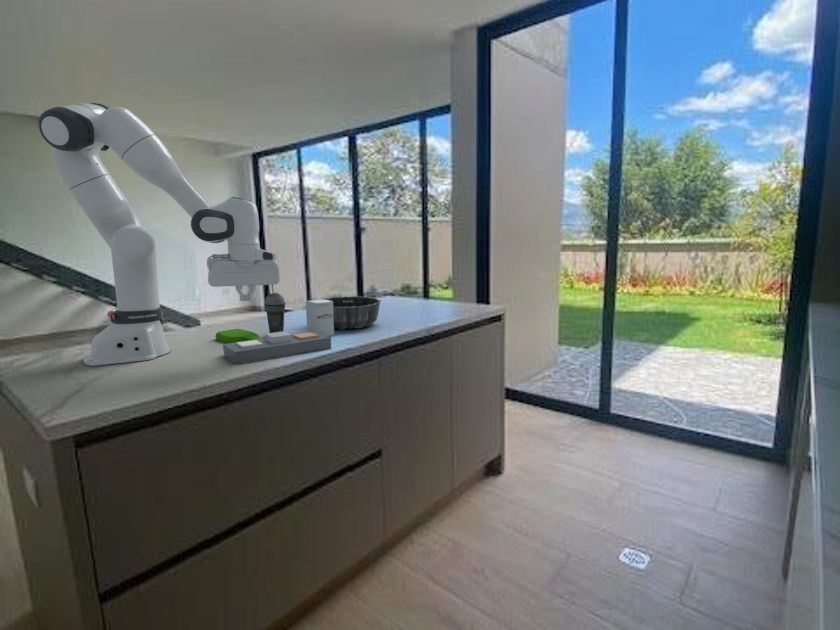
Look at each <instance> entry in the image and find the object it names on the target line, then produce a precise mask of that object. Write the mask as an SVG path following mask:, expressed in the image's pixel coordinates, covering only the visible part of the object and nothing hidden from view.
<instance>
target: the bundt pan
mask: <svg viewBox="0 0 840 630" xmlns="http://www.w3.org/2000/svg"><path fill="white" fill-rule="evenodd" d="M323 299H324V300H329V301H333V317H334V330H336V329H337V330H345V329H349V330H352V329H361V328H368V327H369V326H371V325H373V324H375V322H376V321H377V319H378V316H379V310H380V304H381V302H382V300H381V299H378V298H376V297H369V296H338V297H337V296H335V297H334V296H333V297H328V298H321V300H323Z"/></svg>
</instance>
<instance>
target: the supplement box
mask: <svg viewBox="0 0 840 630" xmlns="http://www.w3.org/2000/svg"><path fill="white" fill-rule="evenodd" d="M322 299H323V300H322ZM322 299H314V300H306V301H305V311H306V312H305V314H306V333H307V332H314V331H315V332H317V333H320V334H323V335H325V336H328V337H330V336H335V329H334V317H333V301H329V300H324V299H325V298H322Z"/></svg>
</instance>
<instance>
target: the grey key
mask: <svg viewBox="0 0 840 630" xmlns="http://www.w3.org/2000/svg"><path fill="white" fill-rule="evenodd" d="M291 335H292V334H290V333H289V332H286V331H283V332H276V333H270V332H269V333H265V336H264V337H265V338H266V341H267V342H269V343H271V344H277V343H284V342H291V341H292V339H291Z"/></svg>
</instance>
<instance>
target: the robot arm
mask: <svg viewBox="0 0 840 630" xmlns="http://www.w3.org/2000/svg"><path fill="white" fill-rule="evenodd" d="M37 125H38V130H39V133H40V135H41V136H42V138H43V140H44V141H45V142H46V143H47V144H48V145H49V146H50V147H53V149H52V152H51V156H50V157H51V160H52V162H53V165H54V167H55V169H56V171H57V173H58V175H59V176H60V178H61V180H62V181H63V183H64V184H65V187H67V189H68V190H69V192H70V193H71V195H72V197H74V199H75V201H76V202H77V204H78V205H79V206H80V207H81V209H82V210H83V212H84V213H85V215H86V216H87V218H89V220H90V222H91V223H92V224H93V227H95V229H96V230H97V232H98V233H99V235H100V236H101V237H102V239H103V240H104V241H105V243H106V244H107V246H108V247H109V249H110V252H111V259H112V260H111V261H112V269H113V271H112V272H113V280H114V289H115V290H114V291H115V297H116V305H117V309H116V310H115V311H114V310H108V312H107V317H109V318H110V322H111V324H109V325H107V327H105V328H104V329H103V330H101V331H100V332H99V333H98V334H97V335H95V336H94V338H93V339H92V342H91V346H90V347H91V348H90V352H89V353H87V354H85V355H83V357H82V363H83V364H84V365H87V366H92V367H93V366H96V367H97V366H104V365H112V364H123V363H133V362H141V361H142V362H143V361H150V360H153V359H155V358H158V357H159V356H163V355H166V354H168V353H170V352H171V349H170V347H169V345H168V341H167V339H166V335H165V332H164V327H163V325H164V315H163V314H164V313H163V309H162V306H161V305H160V296H159V285H158V266H157V265H158V263H157V248H156V242H155V241H156V240H155V239H154V237H153V235H152V233H151V232H150V231H148V230H147V229H146V228H145V227H144V226H143V224H142V222H141V221H140V220H139V218H138V215H137V214H136V213H135V211H134V210H133V207H132V206H131V205H130V203H129V201H128V199H127V198H126V196H125V195H124V193H123V192H122V190H121V189H120V188H119V187H120V186H118V184H117V182H116V181H115V180H114V178H113V177H112V175H111V174H110V172H109V171H108V170H107V168H106V166H105V165H104V164H103V161H102V159H101V157H100V153H101V152H102V151H103V152H104V151H105V152H106V151H108V150H109V149H111V150H112V151H113V152H114V153H115V154H116V155H117V156H118V157H119V158H120V159H121V160H122V162H123V163H124V164H125V165H126V166H128V168H130V170H131V171H133V172H134V173H135V174H136V175H138V176H139V177H140V178H142V179H143V180H144V181H146V182H148V183H150V184H152V185H154V186H155V187H157V188H159V189H161V190H162V191H164V192H166V194H168V195H169V196H170V197H172V199H173V200H174V201H175V202H176V203H177V204H178V205H179V206H180V207H181V208H182V209H183V210H184V211H185V212H186V214H188V216H189V217H190V218H191V220H190V227H191V230H192V233H193V234H194V235H195V236H196V237H197V238H198V239H200V240H201V241H203V242H206V243H211V244H220V243H223V242H225V241H227V253H221V254H218V253H214V254H212V255H210V256H208V258H207V259H206V267H207V268H208V269H207V270H208V273H207V275H208V276H207V283H208V285H209V286H211V287H212V288H215V287H216V288H217V287H218V288H220V287H223V288H224V287H235V291H236V293H238V295H239V301H240V302H246V301H247V302H248V301H252V295H253V293H254V292H255V290H256V286H269V285H271V286H272V285H273V286H274V285H278V284H279V283H280V281H281V279H280V278H281V275H280V267H279V265H278V262H276V260H277V254H276V253H274V252H271V251H268V250H266V249H262V248H261V247H260V246H261V245H260V241H259V233H260V219H259V211H258V207H257V205H256V204H255V203H254V202H253V201H251V200H250V199H246V198H244V197H243V198H242V197H237V196H232V197H228V198H227V199H225V200H224V201H223V202H220V203H218V204H215V205H212V206H211V205H210V204H209V203H208V202H207V201H206V200H205V199H204V198H203V197H202V196H201V195H200V194H199V193H198V192H197V190H196V189H195V188H194V187H193V186H192V185H191V184H190V183H189V182H188V180H187V179H186V178H185V176H184V174H183V172H182V171H181V170H180V168H179V166H178V164H177V163H176V161H175V159H174V158H173V156H172V154H171V153H170V151H169V149H168V148H167V147H166V146H165V144H164V143H163V142H162V140H161V139H160V138H159V136H157V134H155V132H153V130H152V129H151V128H150V127H149V126H148V125H147V124H146V123H144V122H143V120H141V119H140V118H139V117H138V116H137V115H135V114H134V113H133V112H132V111H131V110H130V109H127V108H126V107H123V106H112V107H110V106H107V105H105V104H103V103H102V104H101V103H96V102H95V103H94V102H93V103H92V102H91V103H72V104H67V105H64V106H54V107H51V108H49V109H46V110H44V111H43V112H42V113H41V114H40V116H39V118H38V124H37ZM244 286H245V287H247V289H248V292H247V294H244V292H242V290H244V289H243V287H244Z"/></svg>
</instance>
